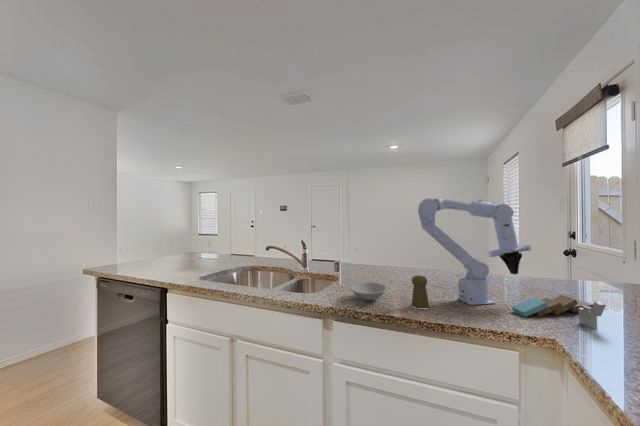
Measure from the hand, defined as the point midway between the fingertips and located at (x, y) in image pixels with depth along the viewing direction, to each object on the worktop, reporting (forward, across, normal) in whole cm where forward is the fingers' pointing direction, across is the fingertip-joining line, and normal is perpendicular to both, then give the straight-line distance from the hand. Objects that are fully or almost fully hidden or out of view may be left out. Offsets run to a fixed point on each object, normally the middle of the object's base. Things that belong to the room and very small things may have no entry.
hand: (514, 273), depth 98 cm
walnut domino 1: (+10, -4, -10) cm, 15 cm away
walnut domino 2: (+11, +2, -10) cm, 15 cm away
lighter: (+12, +3, -22) cm, 25 cm away
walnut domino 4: (+11, +8, -9) cm, 16 cm away
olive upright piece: (+6, -36, +2) cm, 36 cm away
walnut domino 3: (+12, +9, -9) cm, 18 cm away
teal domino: (+9, -9, -10) cm, 16 cm away
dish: (+3, -52, +12) cm, 53 cm away
